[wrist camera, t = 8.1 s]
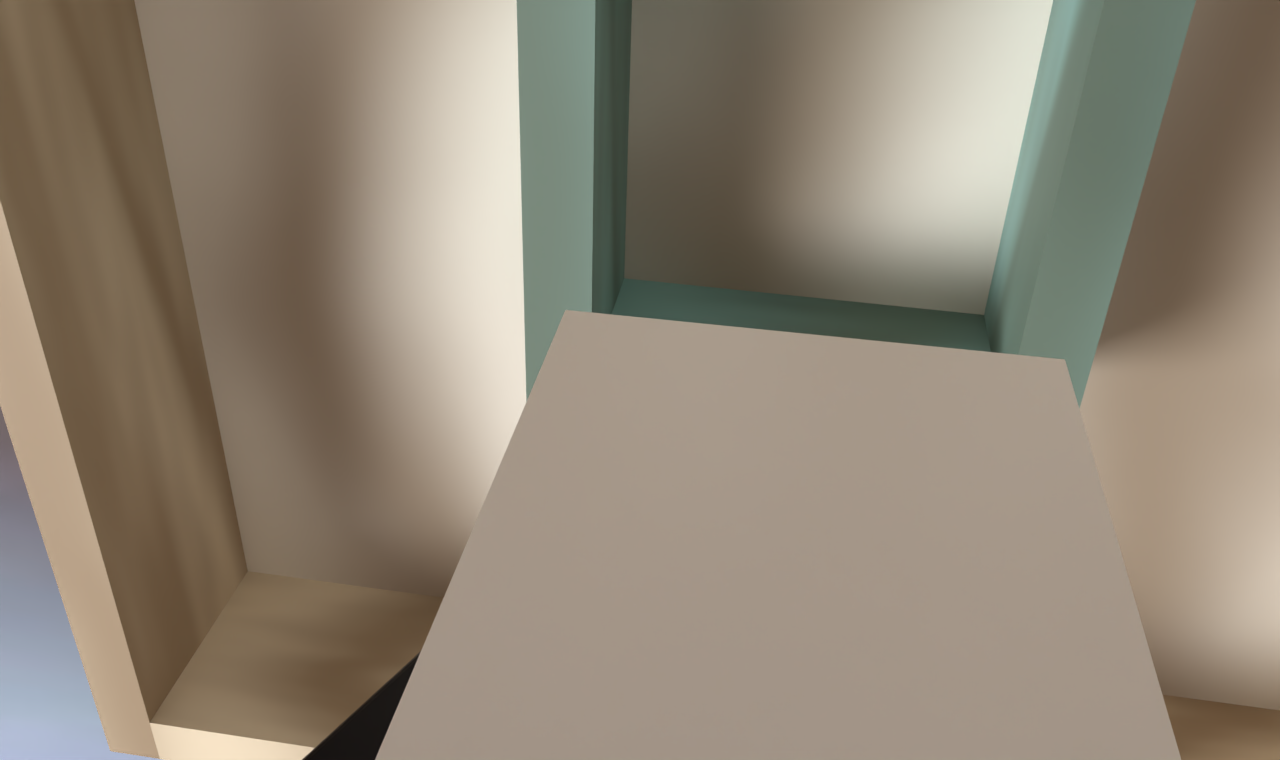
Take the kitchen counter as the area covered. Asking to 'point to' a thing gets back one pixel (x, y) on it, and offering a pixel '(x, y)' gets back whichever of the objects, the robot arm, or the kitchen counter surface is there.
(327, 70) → the walled box
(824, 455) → the grey plug
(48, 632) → the kitchen counter surface
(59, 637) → the kitchen counter surface
